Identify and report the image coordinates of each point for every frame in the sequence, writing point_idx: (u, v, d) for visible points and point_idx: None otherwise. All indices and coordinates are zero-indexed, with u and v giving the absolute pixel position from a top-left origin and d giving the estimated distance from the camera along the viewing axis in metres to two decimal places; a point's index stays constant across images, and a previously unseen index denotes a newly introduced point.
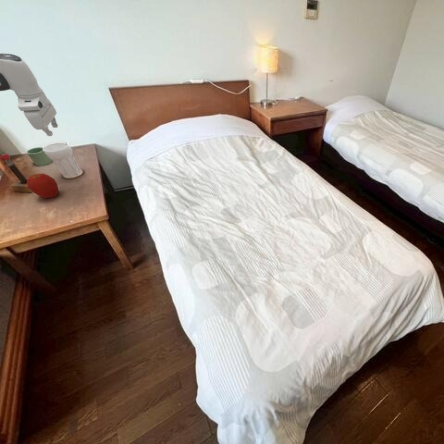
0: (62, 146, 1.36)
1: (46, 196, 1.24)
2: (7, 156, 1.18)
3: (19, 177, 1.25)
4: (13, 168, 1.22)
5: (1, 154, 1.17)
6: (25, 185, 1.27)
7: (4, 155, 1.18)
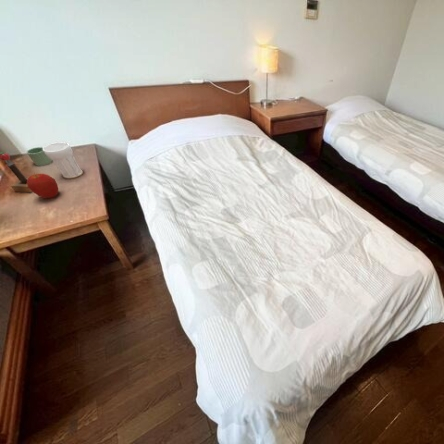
0: (62, 146, 1.36)
1: (46, 196, 1.24)
2: (7, 156, 1.18)
3: (19, 177, 1.25)
4: (13, 168, 1.22)
5: (1, 154, 1.17)
6: (25, 185, 1.27)
7: (4, 155, 1.18)
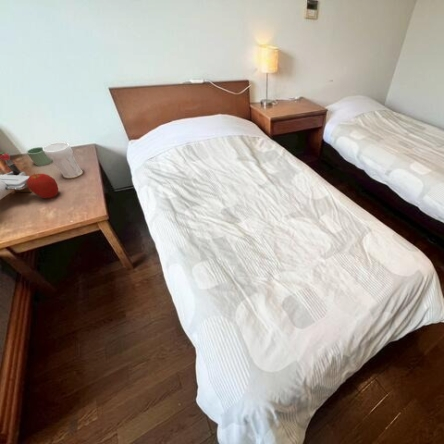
0: (62, 146, 1.36)
1: (46, 196, 1.24)
2: (7, 156, 1.18)
3: None
4: (13, 168, 1.22)
5: (1, 154, 1.17)
6: None
7: (4, 155, 1.18)
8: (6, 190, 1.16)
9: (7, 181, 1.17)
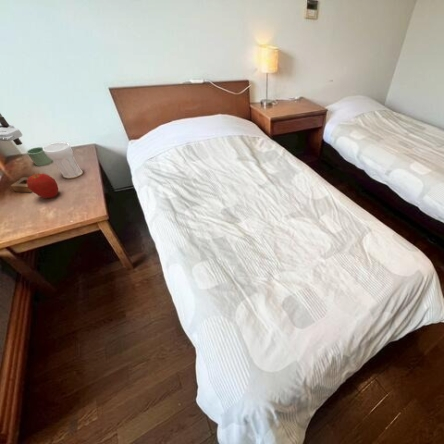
0: (62, 146, 1.36)
1: (46, 196, 1.24)
2: None
3: None
4: (2, 121, 1.22)
5: None
6: (25, 185, 1.27)
7: None
8: None
9: None
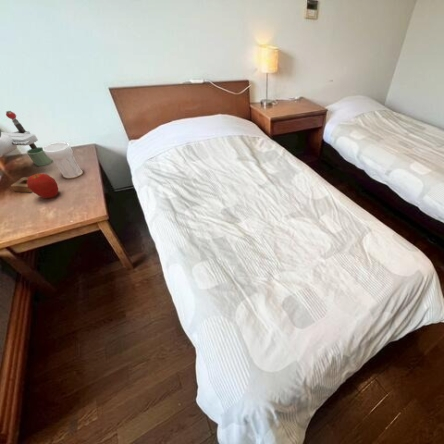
0: (62, 146, 1.36)
1: (46, 196, 1.24)
2: (13, 115, 1.30)
3: None
4: (19, 127, 1.34)
5: (8, 112, 1.28)
6: (25, 185, 1.27)
7: (11, 113, 1.29)
8: (13, 145, 1.28)
9: (13, 137, 1.29)
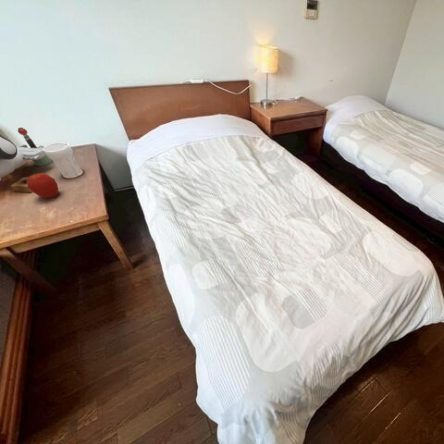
0: (62, 146, 1.36)
1: (46, 196, 1.24)
2: (25, 131, 1.36)
3: None
4: (30, 142, 1.40)
5: (20, 129, 1.34)
6: (25, 185, 1.27)
7: (22, 130, 1.35)
8: (23, 160, 1.34)
9: (24, 152, 1.35)
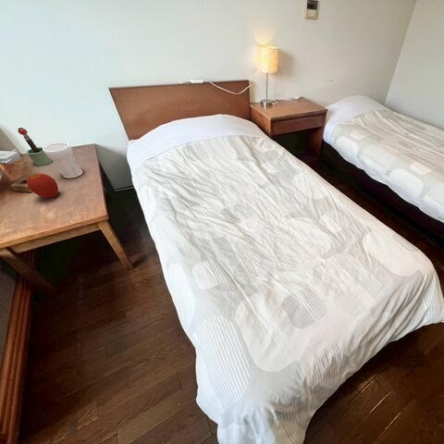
0: (62, 146, 1.36)
1: (46, 196, 1.24)
2: (25, 131, 1.36)
3: (35, 151, 1.43)
4: (30, 142, 1.40)
5: (20, 129, 1.34)
6: (25, 185, 1.27)
7: (22, 130, 1.35)
8: None
9: None
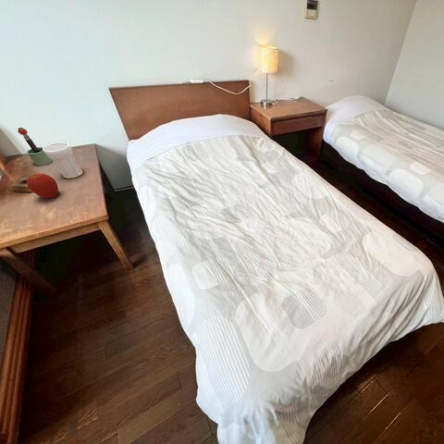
0: (62, 146, 1.36)
1: (46, 196, 1.24)
2: (25, 131, 1.36)
3: (35, 151, 1.43)
4: (30, 142, 1.40)
5: (20, 129, 1.34)
6: (25, 185, 1.27)
7: (22, 130, 1.35)
8: None
9: None
